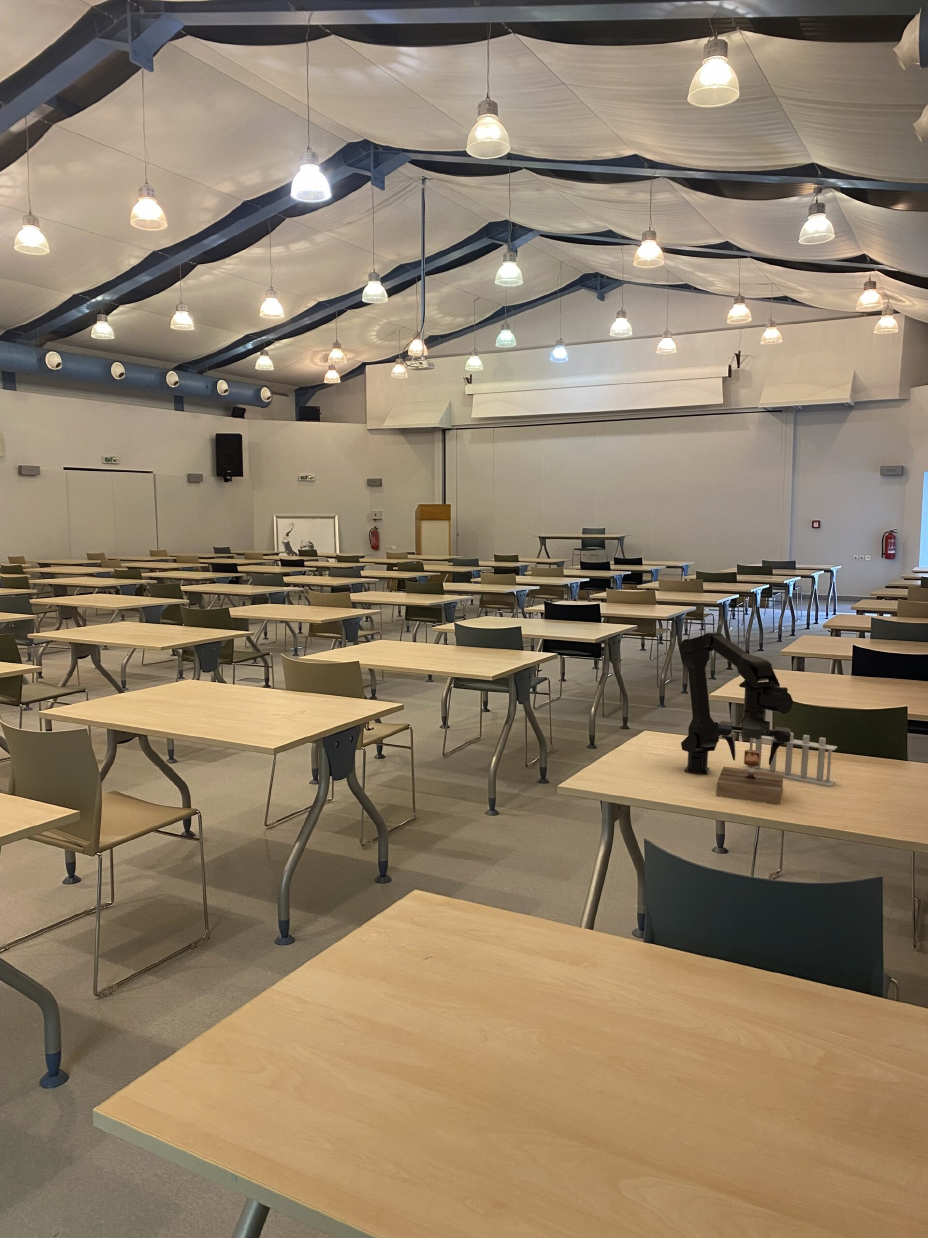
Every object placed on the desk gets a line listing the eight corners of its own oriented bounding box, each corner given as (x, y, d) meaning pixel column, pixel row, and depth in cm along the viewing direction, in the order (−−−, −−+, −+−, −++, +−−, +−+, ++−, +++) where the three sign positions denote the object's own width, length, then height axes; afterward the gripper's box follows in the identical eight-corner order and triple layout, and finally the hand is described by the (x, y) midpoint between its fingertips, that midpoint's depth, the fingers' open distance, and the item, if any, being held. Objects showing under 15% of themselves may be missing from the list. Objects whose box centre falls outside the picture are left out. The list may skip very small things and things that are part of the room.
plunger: (743, 775, 230) (745, 749, 229) (759, 777, 228) (760, 750, 227) (742, 779, 226) (744, 752, 225) (758, 781, 225) (759, 754, 224)
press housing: (722, 780, 238) (723, 766, 238) (782, 788, 232) (783, 774, 231) (716, 796, 223) (717, 781, 223) (779, 804, 217) (780, 790, 217)
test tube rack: (835, 784, 237) (838, 739, 235) (831, 788, 233) (834, 742, 232) (747, 767, 252) (749, 724, 250) (742, 770, 248) (744, 727, 247)
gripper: (715, 708, 221) (712, 765, 223) (790, 715, 214) (787, 774, 216) (720, 700, 232) (717, 755, 233) (792, 707, 224) (788, 764, 226)
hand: (751, 762), depth 227 cm, fingers open, 9 cm apart
